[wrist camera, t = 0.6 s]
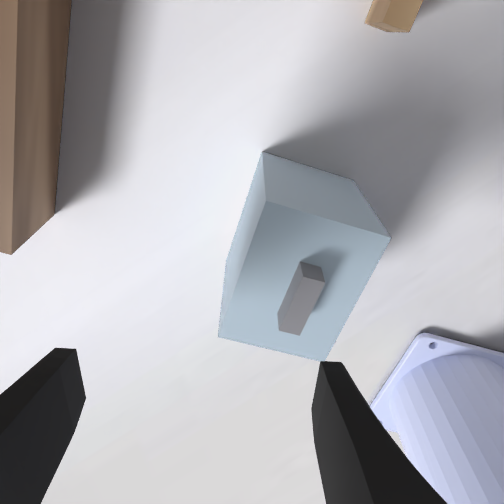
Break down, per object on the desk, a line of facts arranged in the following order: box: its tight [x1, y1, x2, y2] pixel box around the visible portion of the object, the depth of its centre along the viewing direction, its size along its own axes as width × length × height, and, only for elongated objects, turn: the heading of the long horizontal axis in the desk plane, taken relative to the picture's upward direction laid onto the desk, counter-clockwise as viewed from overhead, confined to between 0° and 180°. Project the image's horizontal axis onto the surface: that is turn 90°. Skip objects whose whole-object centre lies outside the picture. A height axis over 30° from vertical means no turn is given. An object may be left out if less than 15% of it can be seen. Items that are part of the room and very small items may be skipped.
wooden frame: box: [0, 0, 423, 255], centre depth 14 cm, size 14×19×4 cm
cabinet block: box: [218, 152, 391, 362], centre depth 17 cm, size 4×6×7 cm
